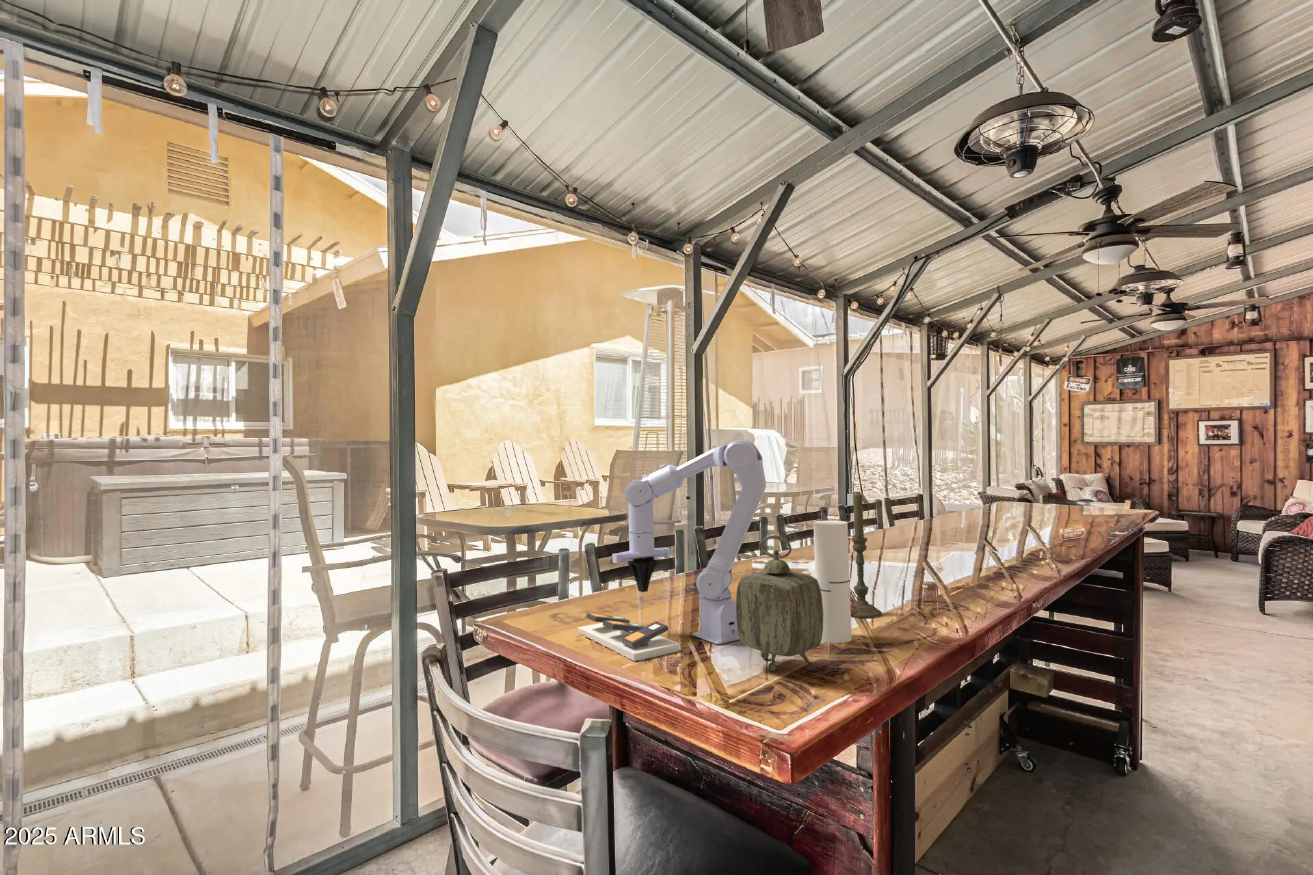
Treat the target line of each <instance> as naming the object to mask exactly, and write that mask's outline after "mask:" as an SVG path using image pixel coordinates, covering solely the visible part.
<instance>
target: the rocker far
mask: <svg viewBox="0 0 1313 875" xmlns="http://www.w3.org/2000/svg"><path fill="white" fill-rule="evenodd" d="M585 618H586V619H588V620H590V621H592V622H595V623H603V621H617V622H625V623H631V622H630V621H631V620H630V619H627V618H625V617H622V616H616V615H609V614H608V615H607V614H599V613H586V617H585Z"/></svg>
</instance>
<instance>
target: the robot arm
mask: <svg viewBox="0 0 1313 875" xmlns="http://www.w3.org/2000/svg"><path fill="white" fill-rule="evenodd" d="M714 467H729V469H730V470H731V471H732V472H733V473H734V474H735V475H736V477H737V480H738V482H739V484H740V486H741V489H740V492H739V493H738V494H739V495H738V497H737V499H736V501H735V503H734V506H733V509H732V510H731V513H730V515H729V518H728V520H727V522H726V525H725V528H724V529H723V532H722V535H721V536H720V539H719V541H718V543H717V545H716V548H715V550H714V552H713V555H712V556H711V558H710V560H708V563H707V565H706V567H705V568H704V569H703V570H702V571H701V572H700V573H699V574H698V575H697V578H696V581H695V582H696V588H697V591H698V592H699V593H698V604H699V606H698V607H699V610H698V611H699V631H695V632H692V634H691V636H695V637H696V638H699V639H702V640H705V641H706V642H710V643H713V644H714V645H722V644H727V643H729V642H730V643H731V642H735V641H737V640H738V641H740V638H739V635H738V629H737V616H736V600H734V599H733V597H732V592H731V590H730V589H729V587H730V585H731V584H732V581H733V568H734V565H735V562H736V558H737V556H738V553H739V551H740V549H741V546H742V545H743V542H744V539H745V536H746V535H747V533H748V530H749V528H750V526H751V523H752V521H753V518H754V516H755V513H756V512H757V509H758V507H759V505H760V502H761V499H762V498H763V495H764V493H765V491H766V488H767V481H766V476H765V474H766V473H765V470H764V462H763V456H762V454H761V453H760V451H759V449H758V447H757V445H756V444H754V443H753V442H751V441H748V440H735V441H734V440H733V441H732V442H730V443H729V444H723V445H720V446H717V447H714V448H711V449H709V450H707V451H706V452H704V453H702V454H699V456H696V457H695V458H693V459H690V460H689V461H686V462H685V463H683V464H681V465H679V466H676V465H674V464H668V465H667V464H661V465H660V466H659V469H658V470H655V471H654V472H652V473H649V474H647V473H645V474H643V475H642V476H641V478H642V479H634V480H632V481H631V482H629V483H628V484H627V485H626V487H625V489H624V498H625V500H626V502H627V503H628V538H629V540H628V541H629V542H628V543H629V545H628V546H629V550H626V551H622V552H618V553H612V555H611V556H612V557H611V558H612V563H614V564H621V563H626V562H627V565H628V566H629V568H630V570H631V572H632V574H633V576H634V579H635V582H636V586H637V589H638V592H641V593H646V592H648V591H649V586H650V581H651V578H652V575H653V572H654V570H655V569H656V566H657V565H658V560H657V559H658V558H663V557H664V558H667V557H671V555H672V554H671V552H672V551H671V547H655V533H654V504H653V503H654V502H653V501H654V500H655V499H659V498H661V497H662V496H665V495H668V494H669V493H671V492H673V491H676V490H678V489H680V488H682V485H683V482H685V481H684V480H685V479H687V478H689V477H692V476H694V475H697V474H699V473H702V472H703V471H707V470H709V469H710V468H714ZM656 558H657V559H656Z"/></svg>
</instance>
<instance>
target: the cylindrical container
mask: <svg viewBox="0 0 1313 875" xmlns="http://www.w3.org/2000/svg"><path fill="white" fill-rule="evenodd" d="M848 526H849V525H848V521H843V520H817V521H814V522H813V545H814V546H813V548H814V575H815V577H814V578H816V579H817V581H818V583H819V586H820V590H821V595H822V603H823V613H824V615H823V634H822V640H821V642H825V643H829V644H831V643H832V644H844V643H848V642H851V641H852V617H851V608H850V605H851V587H850V586H851V585H850V557H849V556H850V554H849V532H848V531H849V530H848V528H849V527H848Z"/></svg>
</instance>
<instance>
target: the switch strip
mask: <svg viewBox="0 0 1313 875" xmlns="http://www.w3.org/2000/svg"><path fill="white" fill-rule="evenodd" d="M578 632H581V633H582V634H585V635H586V636H589V637H590V638H591V639H594V640H595V641H597V642H599V643H602V644H603V645H605V646H607V647H609V648H611V649H613V650H615V651H616V652H618V653H620V654H622V655H623V656H622V657H624V656H626V657H627V658H626V657H625V658H626V659H628V658H629V659H628V660H630V659H631V660H630V661H632V660H633V661H632V662H634V661H635V660H639V661H643V660H646V658H647V659H652V658H656V657H659V656H660V657H661V656H664V655H669V654H672V653H677V652H680V643H679V642H676V641H673V640H671V639H668V638H665V637H663V636H661V635H658V636H656V637H654V638H652V639H650V640H649V641H647V642H645V643H643V644H641V645H639V646H637V647H635V648H631V647H629V646H627V645H625V644H622V640H621V639H622V638H624V637H626V636H628V635H630V634H632V633H634V632H636V631H625V630H614V629H610V628H608V627H606V626H604V625H603V622H598V623H594V624H589V625H583V626H578V627H577V633H578ZM635 662H636V661H635Z"/></svg>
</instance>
